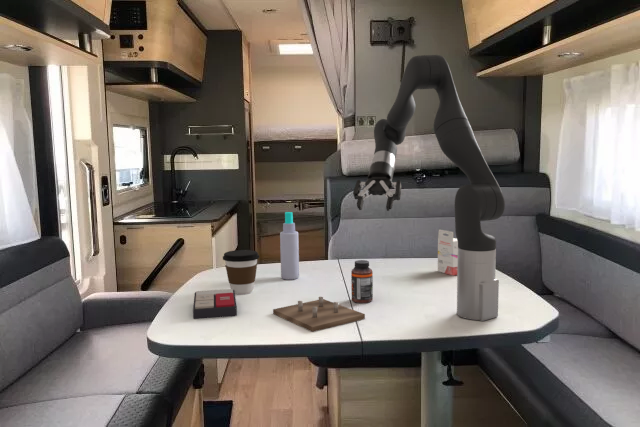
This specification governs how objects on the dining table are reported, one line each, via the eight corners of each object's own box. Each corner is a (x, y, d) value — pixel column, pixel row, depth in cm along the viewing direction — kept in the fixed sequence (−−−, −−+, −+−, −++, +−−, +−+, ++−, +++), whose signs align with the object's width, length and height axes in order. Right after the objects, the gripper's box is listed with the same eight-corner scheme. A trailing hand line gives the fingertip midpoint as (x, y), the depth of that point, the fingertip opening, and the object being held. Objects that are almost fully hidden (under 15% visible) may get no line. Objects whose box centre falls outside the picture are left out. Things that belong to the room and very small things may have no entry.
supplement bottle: (350, 298, 155) (349, 259, 154) (370, 297, 156) (370, 258, 155) (352, 304, 150) (352, 263, 148) (374, 303, 150) (374, 263, 149)
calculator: (192, 306, 138) (194, 289, 152) (193, 323, 138) (195, 303, 153) (236, 303, 140) (234, 286, 154) (237, 319, 140) (234, 301, 155)
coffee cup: (219, 290, 167) (217, 251, 165) (252, 285, 172) (251, 248, 170) (230, 298, 157) (229, 257, 156) (265, 293, 162) (264, 253, 160)
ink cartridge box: (464, 274, 183) (465, 231, 181) (452, 276, 181) (453, 232, 179) (448, 269, 191) (448, 227, 189) (436, 271, 188) (437, 229, 187)
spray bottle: (292, 280, 177) (291, 213, 175) (277, 278, 180) (275, 213, 178) (302, 277, 182) (301, 211, 180) (287, 275, 185) (286, 211, 183)
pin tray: (364, 318, 136) (364, 304, 136) (312, 331, 127) (312, 316, 127) (322, 303, 151) (322, 290, 151) (273, 313, 142) (272, 299, 141)
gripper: (358, 160, 171) (348, 200, 161) (403, 160, 166) (395, 201, 157) (362, 176, 176) (353, 215, 167) (406, 176, 172) (399, 217, 162)
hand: (373, 208), depth 162 cm, fingers open, 8 cm apart
